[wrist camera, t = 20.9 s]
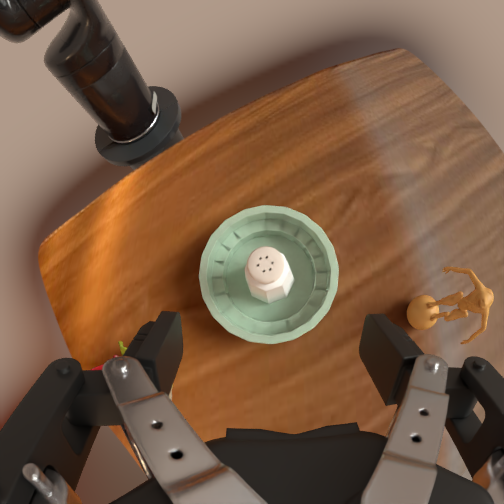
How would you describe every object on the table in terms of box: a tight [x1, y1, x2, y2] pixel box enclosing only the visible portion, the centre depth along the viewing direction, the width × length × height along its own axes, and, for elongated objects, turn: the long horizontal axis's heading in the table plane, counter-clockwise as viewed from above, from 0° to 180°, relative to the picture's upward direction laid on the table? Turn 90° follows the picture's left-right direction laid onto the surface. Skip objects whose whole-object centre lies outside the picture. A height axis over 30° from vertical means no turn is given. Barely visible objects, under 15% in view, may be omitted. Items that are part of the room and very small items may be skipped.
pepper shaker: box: [244, 246, 295, 304], centre depth 27 cm, size 5×5×11 cm
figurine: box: [407, 267, 494, 344], centre depth 25 cm, size 8×6×12 cm
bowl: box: [199, 205, 339, 344], centre depth 31 cm, size 14×14×5 cm
